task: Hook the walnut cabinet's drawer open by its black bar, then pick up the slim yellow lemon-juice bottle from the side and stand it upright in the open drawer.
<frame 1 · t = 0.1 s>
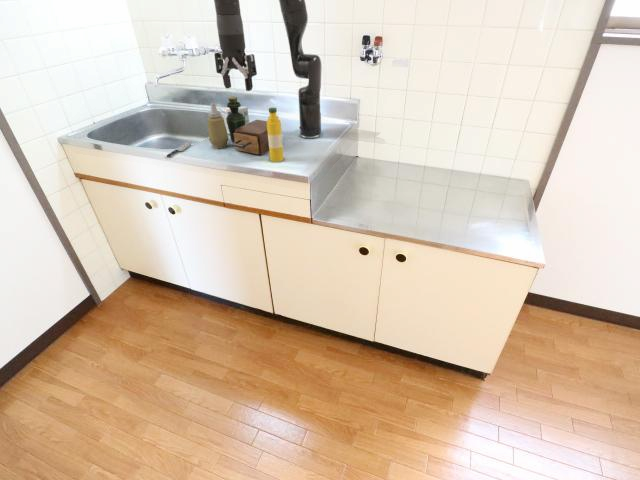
hand: (238, 89, 120), 29 cm above the worktop, tool pointing down, fingers open, 8 cm apart
cabinet: (260, 146, 158), on the worktop
chef's knife: (182, 149, 157), on the worktop
potion bottle: (238, 140, 166), on the worktop
squeeze bottle: (220, 146, 160), on the worktop
drawer: (251, 140, 152), point 4 cm above the worktop, slide at 0.5 cm
lemon bottle: (276, 159, 147), on the worktop
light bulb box: (237, 131, 176), on the worktop
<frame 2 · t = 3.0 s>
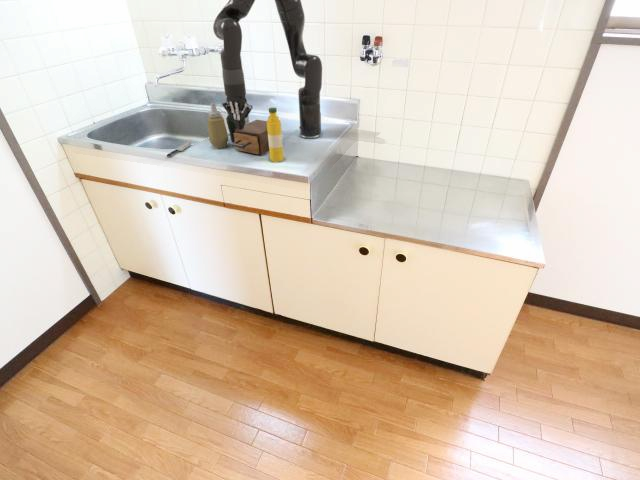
hand: (240, 129, 144), 11 cm above the worktop, tool pointing down, fingers closed
nothing on the worktop moved.
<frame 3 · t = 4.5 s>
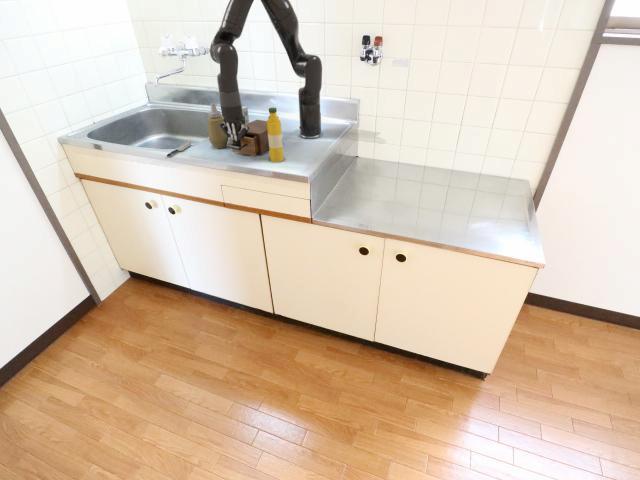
hand: (237, 148, 146), 4 cm above the worktop, tool pointing down, fingers closed
drawer: (248, 142, 150), point 4 cm above the worktop, slide at 2.7 cm, touching gripper
everything else where it was.
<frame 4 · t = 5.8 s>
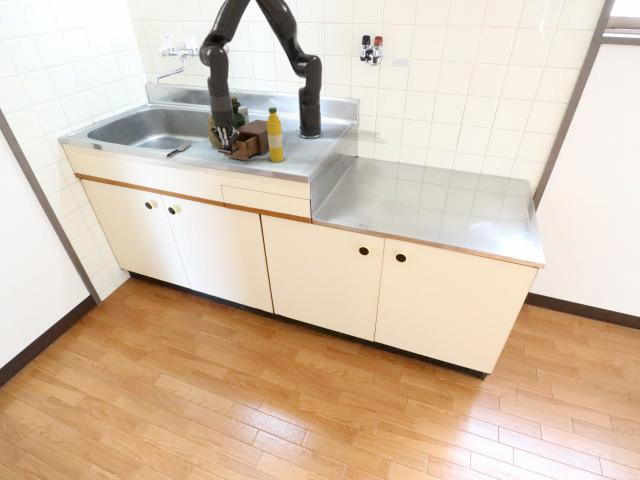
hand: (229, 153, 142), 4 cm above the worktop, tool pointing down, fingers closed
drawer: (240, 146, 147), point 4 cm above the worktop, slide at 7.8 cm
everything else where it was.
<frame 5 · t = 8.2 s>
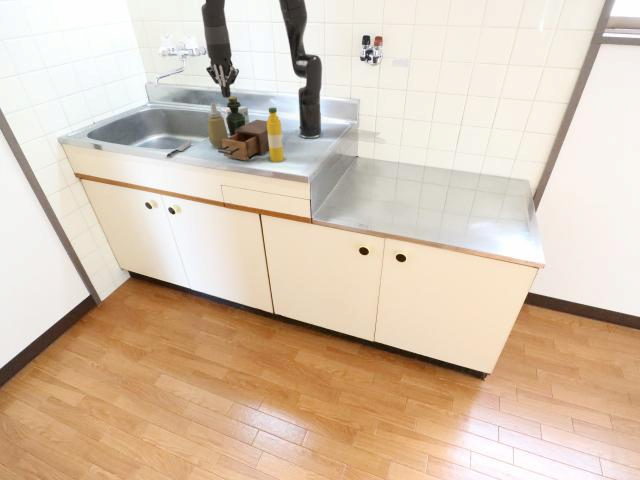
hand: (226, 97, 130), 25 cm above the worktop, tool pointing down, fingers closed
nothing on the worktop moved.
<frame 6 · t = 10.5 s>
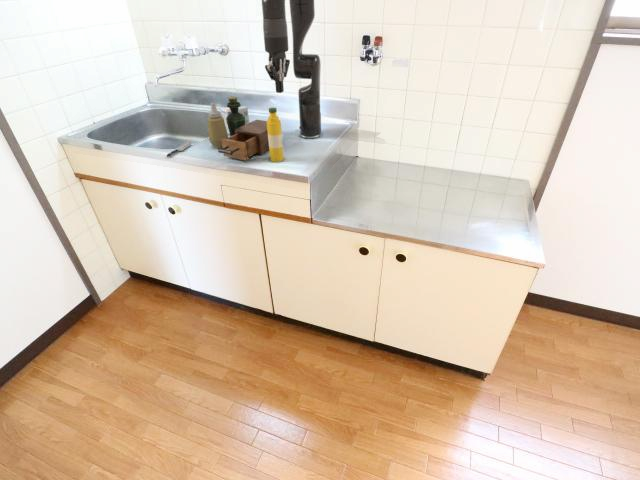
hand: (279, 92, 127), 26 cm above the worktop, tool pointing down, fingers closed
nothing on the worktop moved.
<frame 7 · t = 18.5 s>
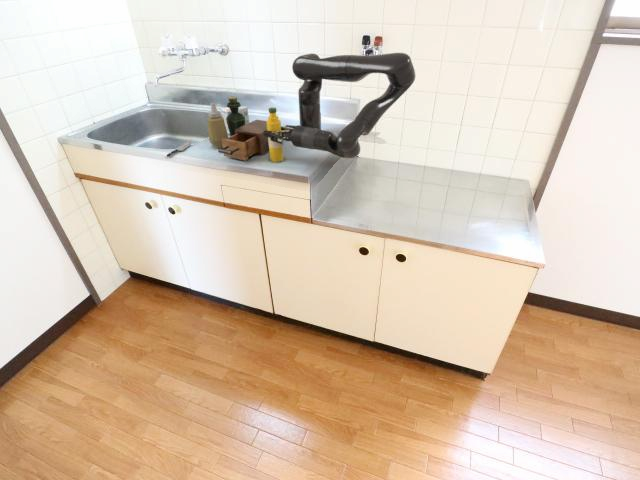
hand: (269, 130, 142), 11 cm above the worktop, tool horizontal, fingers closed on lemon bottle, 5 cm apart
lemon bottle: (276, 159, 147), on the worktop, touching gripper
everything else where it was.
when the fingers open (13 cm above the worktop, at t = 27.2 s): lemon bottle stays where it is, resting on drawer.
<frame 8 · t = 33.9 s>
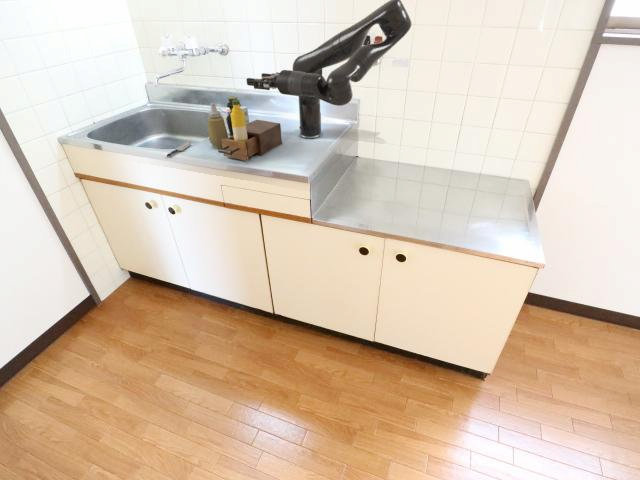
hand: (254, 79, 129), 30 cm above the worktop, tool horizontal, fingers open, 8 cm apart
drawer: (240, 146, 147), point 4 cm above the worktop, slide at 7.8 cm, touching lemon bottle
lemon bottle: (242, 151, 149), point 2 cm above the worktop, touching drawer
everything else where it was.
at the end: drawer slide at 7.8 cm; lemon bottle inside the target area in the drawer (0.3 cm from its centre), point 2.1 cm above the cabinet's base; lemon bottle tilted 0° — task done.
